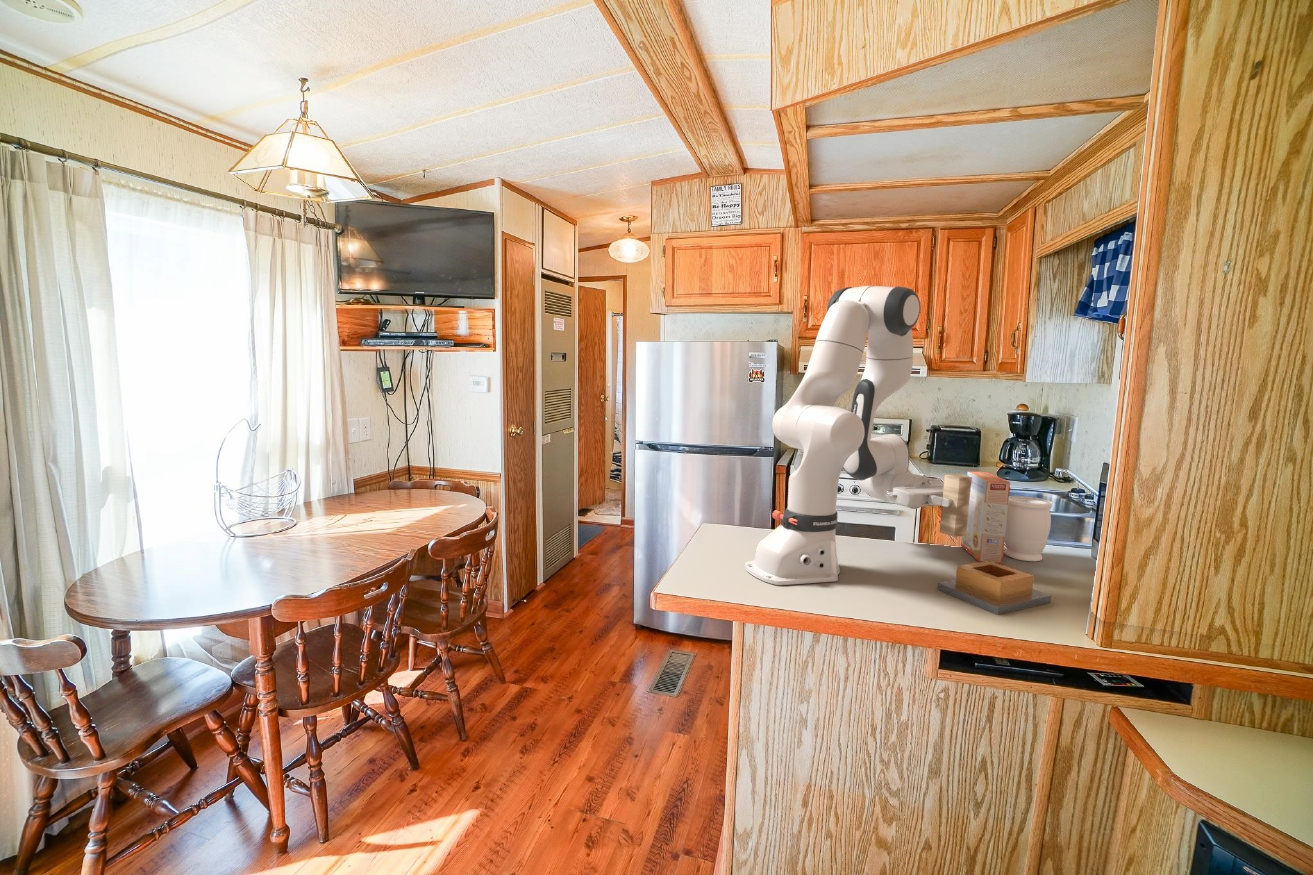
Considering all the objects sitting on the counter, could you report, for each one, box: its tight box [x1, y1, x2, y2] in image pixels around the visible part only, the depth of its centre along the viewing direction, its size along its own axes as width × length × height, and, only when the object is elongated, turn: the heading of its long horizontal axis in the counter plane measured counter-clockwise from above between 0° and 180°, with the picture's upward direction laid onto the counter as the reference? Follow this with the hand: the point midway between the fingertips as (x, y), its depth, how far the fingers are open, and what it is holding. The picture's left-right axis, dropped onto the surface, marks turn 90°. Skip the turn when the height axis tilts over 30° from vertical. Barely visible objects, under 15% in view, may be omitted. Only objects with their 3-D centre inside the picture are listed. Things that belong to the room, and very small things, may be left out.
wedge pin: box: [939, 473, 972, 538], centre depth 136 cm, size 4×4×14 cm
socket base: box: [936, 561, 1052, 615], centre depth 122 cm, size 16×14×6 cm
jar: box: [1003, 495, 1053, 562], centre depth 147 cm, size 11×10×15 cm
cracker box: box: [960, 471, 1011, 565], centre depth 148 cm, size 14×6×21 cm, turn 168°
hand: (959, 502), depth 135 cm, fingers closed on wedge pin, 4 cm apart
